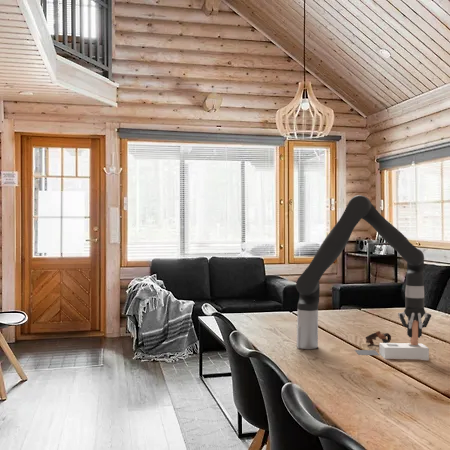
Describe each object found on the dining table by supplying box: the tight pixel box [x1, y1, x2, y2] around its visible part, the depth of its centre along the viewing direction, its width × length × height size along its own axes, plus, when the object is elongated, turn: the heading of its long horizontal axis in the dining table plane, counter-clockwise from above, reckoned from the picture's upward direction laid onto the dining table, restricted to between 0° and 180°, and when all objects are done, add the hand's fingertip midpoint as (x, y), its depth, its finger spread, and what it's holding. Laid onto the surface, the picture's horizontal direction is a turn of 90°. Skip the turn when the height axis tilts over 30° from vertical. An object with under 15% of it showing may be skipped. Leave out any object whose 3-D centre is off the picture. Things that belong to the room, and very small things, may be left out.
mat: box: [354, 349, 380, 356], centre depth 236 cm, size 9×9×1 cm
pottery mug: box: [365, 330, 392, 345], centre depth 250 cm, size 12×10×8 cm
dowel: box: [410, 320, 419, 345], centre depth 229 cm, size 3×3×10 cm
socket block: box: [378, 342, 430, 361], centre depth 230 cm, size 18×9×5 cm, turn 88°
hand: (414, 337), depth 229 cm, fingers closed on dowel, 3 cm apart
